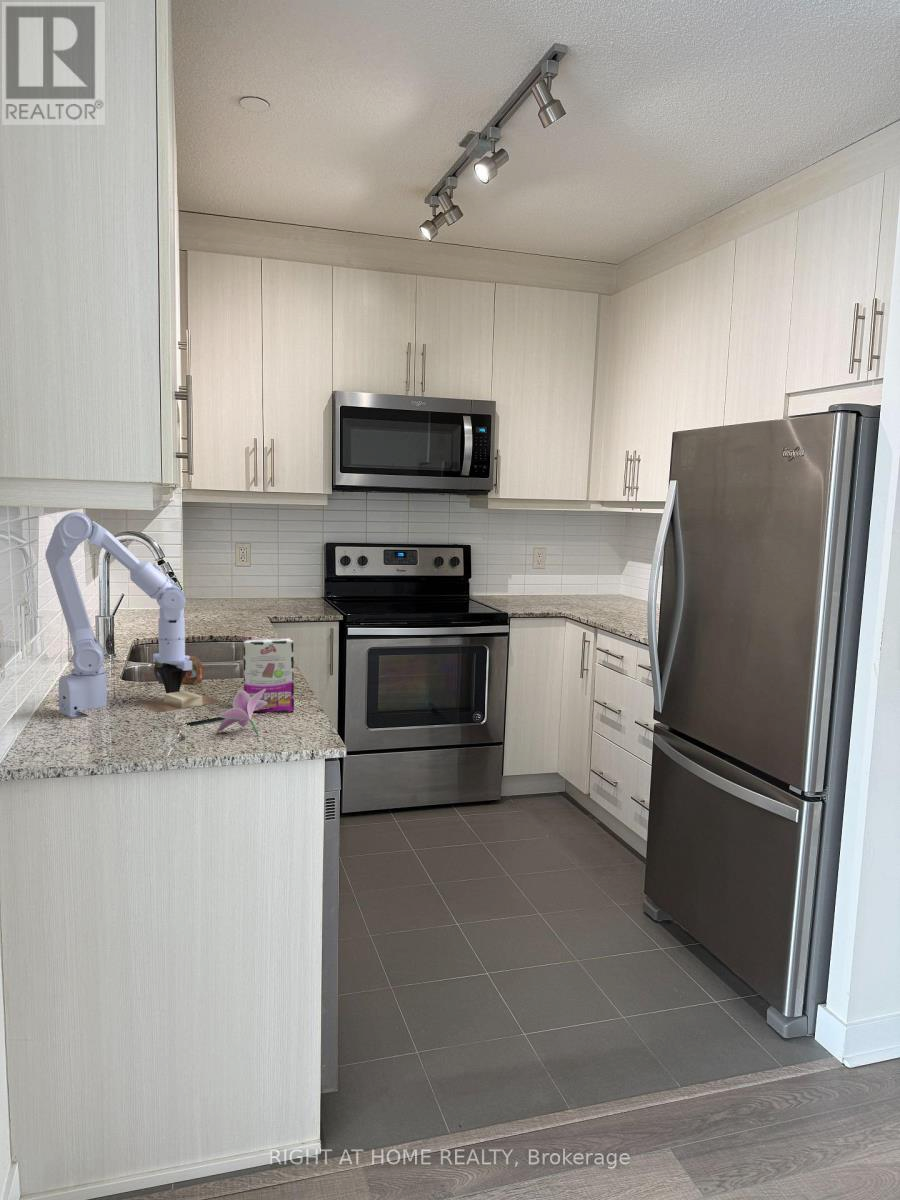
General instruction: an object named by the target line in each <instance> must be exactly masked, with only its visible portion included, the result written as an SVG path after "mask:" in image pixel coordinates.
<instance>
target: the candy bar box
mask: <svg viewBox="0 0 900 1200" xmlns="http://www.w3.org/2000/svg"><path fill="white" fill-rule="evenodd" d="M242 641H243V642H242V655H243V657H242V660H243V662H242V663H243V665H242V667H243V669H242V670H243V690H244V691H245V692H247V693H248V694H249V696H250V698H251V697H252V696H254V695H255V694H257V693H258V692H260V691H262V690H264V689H266V690H265V692H264V693H263V695H262V696H261V697H260V699H259V700H264V701H266V702H267V703H268V704H267V705H265V706H263V707H262V709H261V708H260V709H257V710H255V711H253V713H258V714H268V713H267V712H278V713H292V712H291V711H293V712H294V711H295V685H294V683H295V681H294V679H295V678H294V675H295V674H294V667H295V666H294V663H295V662H294V639H292V638H291V637H290V638H288V637H287V638H261V639H260V638H259V639H255V638H254V639H243V640H242Z"/></svg>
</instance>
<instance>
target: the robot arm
mask: <svg viewBox="0 0 900 1200" xmlns="http://www.w3.org/2000/svg"><path fill="white" fill-rule="evenodd" d="M86 539H88V543H87V544H89V545H92V546H97V547H99V548H103V550H105V551H106V552H107V553H108V554H109V555H111V556H112V557H113V558H114V559H116V561H118V563H120V564H121V565H122V566H124V567H125V568H126V569H127V570H128V571H129V574H130V576H129V579H130V581H132V583H134V584H135V585H136V586H137V587H138V588H139V589H140V590H141V591H143V592H144V593H145V594H146V595H147V596H148V597H150V599H155V600H156V602H157V605H158V606H159V609H158V610H159V617H158V622H157V623H158V653H157V652H156V653H153V654H152V662H153V663H155V662H159V663H163V665H162V667H157V671H158V672H159V674H160V676H161V678H162V681H163V683H162V684H163V686H164V690H165V694H166V693H173V692H179V691H180V689H181V686H182V684H183V683H182V680H183V677H184V675H185V674H186V672H187V670H192V661H190V660H188V659H190V656H191V655H186V625H185V624H186V622H185V610H184V608H185V607H186V603H187V599H186V597H185V594H184V592H183V590H182V589H180V587H179V586H178V585H175V581H174V580H173V579H172V578H171V579H169V578H168V577H167V576H166V575H165V574H164V573H162V572H161V571H160V569H159V568H160V567H159V565H157V564H156V563H152V562H150V561H148V560H144V561H143V560H142V561H141V560H139V558H137V557H136V556H135V555H134V554H133V553H132V552H131V551H130V550H129V549H128V548H127V547H126V546H125V545H123V544H122V542H120V540H118V539H117V538H116V537H115V535H113V534H112V533H111V532H110V531H109V530H107V529H106V528H105V527H103V526H102V525H100V524H99V523H97V522H96V521H94V520H93V521H91V519H90V517H89V516H87V515H86V514H84V513H83V512H80V511H79V512H78V511H75V512H70V513H69V512H68V513H67V514H65V515H64V516H63V517H62V518H61V519H60V521H58V523H57V524H55V526H54V529H53V532H52V535H51V538H50V540H49V543H48V545H47V548H46V550H45V560H46V563H47V566H48V570H49V573H50V575H51V579H52V582H53V585H54V589H55V591H56V595H57V599H58V600H59V601H58V602H59V604H60V607H61V610H62V614H63V616H64V619H65V623H66V627H67V629H68V633H69V637H70V642H71V646H72V650H73V653H72V657H71V658H72V659H71V660H72V661H71V663H72V666H73V668H72V669H71V670H70V673H68V674H67V675H62V676H60V678H59V679H58V710H57V712H58V713H60V714H63V716H66V717H69V718H73V719H75V718H81V717H87V716H89V714H87V713H84V712H83V710H92V709H100V708H103V707H106V706H107V705H108V681H107V680H108V677H107V676H108V675H107V668H105V667H104V666H103V665H104V662H105V649H104V647H103V645H102V644H101V643H100V642H99V641H98V640H97V638H96V636H95V633H94V630H93V627H92V625H91V621H90V619H89V616H88V612H87V608H86V606H85V603H84V599H83V596H82V593H81V589H80V587H79V582H78V579H77V576H76V574H75V570H74V567H73V564H72V561H71V557H72V556H73V555H74V552H75V551H76V549H77V548H78V546H79V545H81V544H82V543H84V542H85V540H86ZM81 711H82V712H81Z"/></svg>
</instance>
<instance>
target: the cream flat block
mask: <svg viewBox="0 0 900 1200" xmlns="http://www.w3.org/2000/svg"><path fill="white" fill-rule="evenodd" d="M163 698H164V703H167V704H170V705H173V706H176V707H179V708H182V709H181V710H183V709H188V708H195V707H200V705H201V706H203V705H202V696H199V695H196V694H194V693H192V692H190V691H187V690H186V691H185V690H181V691H179V692H173V693H166V692H165V693H163Z"/></svg>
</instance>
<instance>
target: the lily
mask: <svg viewBox="0 0 900 1200" xmlns="http://www.w3.org/2000/svg"><path fill="white" fill-rule="evenodd" d="M265 690H266V689H264V690H262V691H260V692H258V693H257V694H255V695H254V696H252V697H251V698H250V696H249V694H248V693H247V692H245V691H244V689H242V688H240V689H239V690H238V691H237V692H236V694H235V696H234V698H233V701H232V708H229V709H228V710H225V711H224V712H222V713H220V714H219V715H218V717H221V718H226V719H224V721H223V722H220V725H219V726H218V729H217V730H216V733H217V732H219V731H221V732H223V730H225V729H226V728H228V727H229V726H231V725H233V724H236V723H237V724H238V725H239V726H240V727H241V728H244V726H246V727H247V725H248V723H249V722H250V723H251V725H252V727H253V730H254V732H255V734H256V736H257V735H259V733H258V731H257V729H256V727H255V724H254V721H253V720H252V719H251V718H252V716H253V714H252V713H253V711H256V710H260V709H261V708H264V707H263V706H265V705H267V704H268V703H267V702H266V701H264V700H259V699H260V697H261V696H262V695H263V693H264V692H265ZM219 733H220V732H219Z"/></svg>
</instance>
